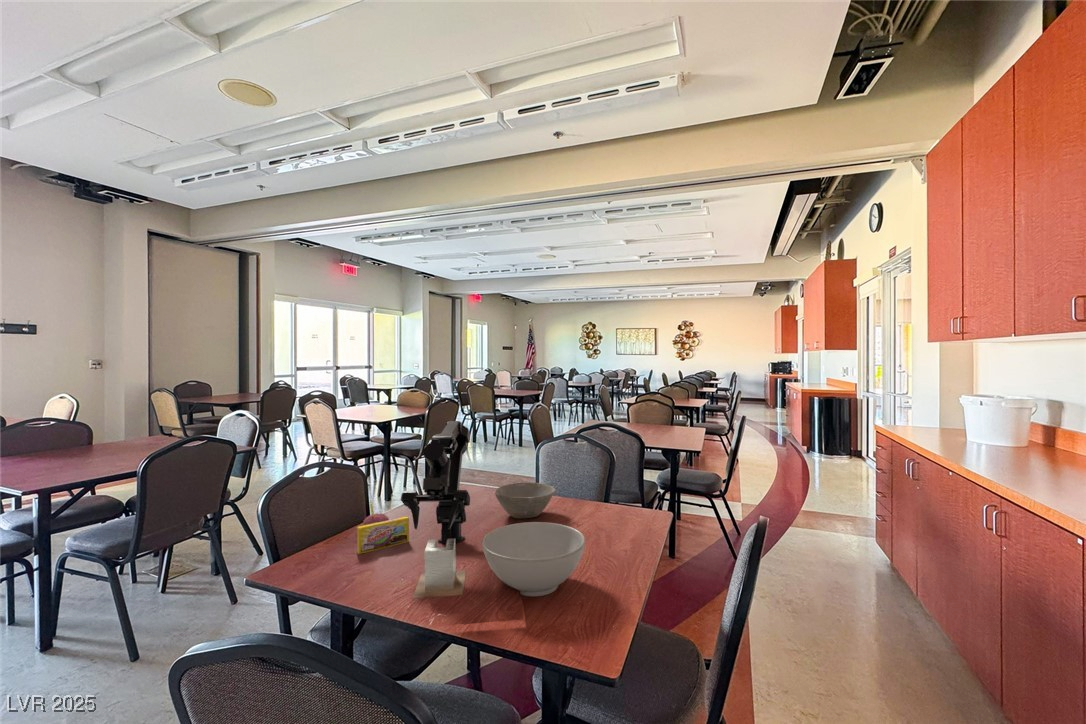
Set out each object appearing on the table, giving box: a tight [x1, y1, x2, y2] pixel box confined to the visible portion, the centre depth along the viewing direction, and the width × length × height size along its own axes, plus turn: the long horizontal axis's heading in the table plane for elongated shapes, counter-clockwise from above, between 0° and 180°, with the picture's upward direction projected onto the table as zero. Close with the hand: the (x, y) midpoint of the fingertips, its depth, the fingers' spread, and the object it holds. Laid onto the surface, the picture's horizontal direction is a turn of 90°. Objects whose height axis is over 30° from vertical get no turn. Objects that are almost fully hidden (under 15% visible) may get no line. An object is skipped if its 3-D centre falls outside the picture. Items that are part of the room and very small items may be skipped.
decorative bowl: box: [481, 521, 586, 597], centre depth 123 cm, size 27×27×12 cm
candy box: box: [356, 515, 410, 555], centre depth 151 cm, size 16×2×8 cm, turn 128°
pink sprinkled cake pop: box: [362, 500, 390, 526], centre depth 163 cm, size 9×8×12 cm
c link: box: [423, 538, 457, 592], centre depth 123 cm, size 8×7×10 cm
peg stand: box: [412, 570, 467, 599], centre depth 123 cm, size 14×12×6 cm
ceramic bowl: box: [494, 482, 556, 520], centre depth 181 cm, size 22×23×10 cm
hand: (432, 528), depth 130 cm, fingers open, 9 cm apart
